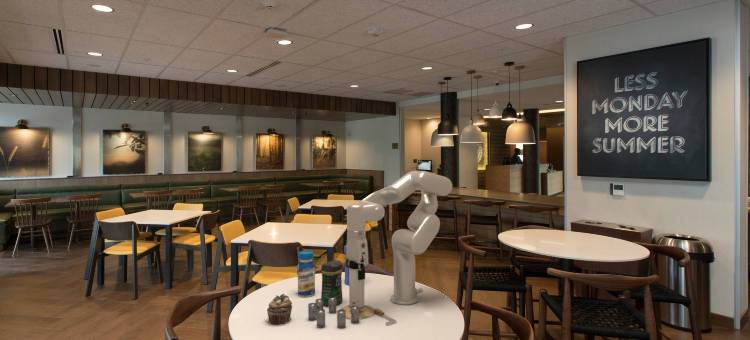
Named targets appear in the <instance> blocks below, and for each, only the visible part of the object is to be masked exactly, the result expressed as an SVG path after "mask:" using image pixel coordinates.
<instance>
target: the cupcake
mask: <svg viewBox="0 0 750 340" xmlns="http://www.w3.org/2000/svg"><path fill="white" fill-rule="evenodd" d="M292 302H293V301H292V300H291V299H290V297H289V296H288V295H285V294H284V293H282V294H280V296H279V295H275V296H274V298H272V300H271V301H270V302H269V303H268V307H267V308H266V311H267V317H268V323H269V324H270V325H275V326H281V325H284V324H287V323H289V322H290V320H291V315H292V309H293V305H292V304H293V303H292Z"/></svg>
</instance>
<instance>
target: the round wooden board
mask: <svg viewBox="0 0 750 340" xmlns="http://www.w3.org/2000/svg"><path fill="white" fill-rule="evenodd" d="M374 309H375V308H373V307H372V306H369V305H366V304H365V307H364V308H363V309H360V310H359V320H365V319H369V318H371V317H372V316H374V315H375V312H374ZM339 310H345V311H346V320H347V319H348V320H351V308H350V307H349V305H346V306H343V307H340V309H339Z"/></svg>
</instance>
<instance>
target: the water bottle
mask: <svg viewBox="0 0 750 340" xmlns="http://www.w3.org/2000/svg"><path fill="white" fill-rule="evenodd" d="M343 247H344V249H343V250H344V257H345V258H344V259H345V261H344V262H345V263H344V264H345V265H344V284H345V286H348V287H349V266H348V262H347V259H346V256H345V255H346V249H347V244H346V245H344V246H343Z"/></svg>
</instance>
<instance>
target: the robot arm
mask: <svg viewBox="0 0 750 340" xmlns="http://www.w3.org/2000/svg"><path fill="white" fill-rule="evenodd" d="M452 190H453V182H452V181H451V180H450V178H448V177H446V176H443V175H440V174H436V173H433V172H430V171H425V170H412V171H409V172H407V173H406V174H404V175H403V176H401V177H400V178H399V179H397V180H396V181H395V182H393V183H392V184H390V185H388V186H386V187H384V188H382V189H379V190H376V191H374V192H372V193H371V194H368V196H366V197H365V198H363V199H362V200H360V201H359V202H358V203H350V204H348V205H347V207H346V230H347V231H346V238H347V239H346V245H347V249H346V255H345V254H344V257H345V256H346V259H347V262H348V266H349V261H353V262H356V263H358V268H359V270H358V280H363V279H364V280H365V279H366V270H367V268H368V267H367V266H368V265H369V264H370V263H369V248H368V247H369V246H368V241H367V237H366V222H367V221H368V222H377V221H378V222H379V221H381V220H382V219H383V218H384V217H385V214H386V211H385V207H384V206H387V205H394V204H397V203H400V202H403V201H404V200H405V199H406V198H408V197H409V196H410V195H411V194H413V193H414V192H416V191H420V192H421V193H420V194H421V198H420V202H419V203H418V205H417V206H416V207H415V209H414V211H412V213H411V214H410V216H409V217H408V219H407V222H406V225H407V227H408V229H405V228H402V229H401V228H400V229H398V230H395V231H394V232H393V234H392V236H391V248H392V253H393V294H392V295H391V296H389V297H390V301H391V302H392V303H394V304H397V305H405V306H406V305H408V306H409V305H414V304H416V303H418V302H419V296H418V295H419V294H421V293H423V292H424V290H423V287H420V288H417V287H416V257H415V256H419V255H422V254H423V253H424V252H425V251H426V250H428V248H429V246H430V245H431V243H432V241H433V240H434V239H435V237H436V236H437V234H438V233H439V231H440V226H441V221H440V218H439V217H438V216H437V215H436V214H435V213H436V212H437V210H438V208H439V207H438V204H439V203H438V198H437V196H442V197H444V196H448V195H450V193H451V192H452ZM346 259H345V260H346ZM360 261H363V262H360ZM360 264H362V266H361V265H360Z"/></svg>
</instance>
